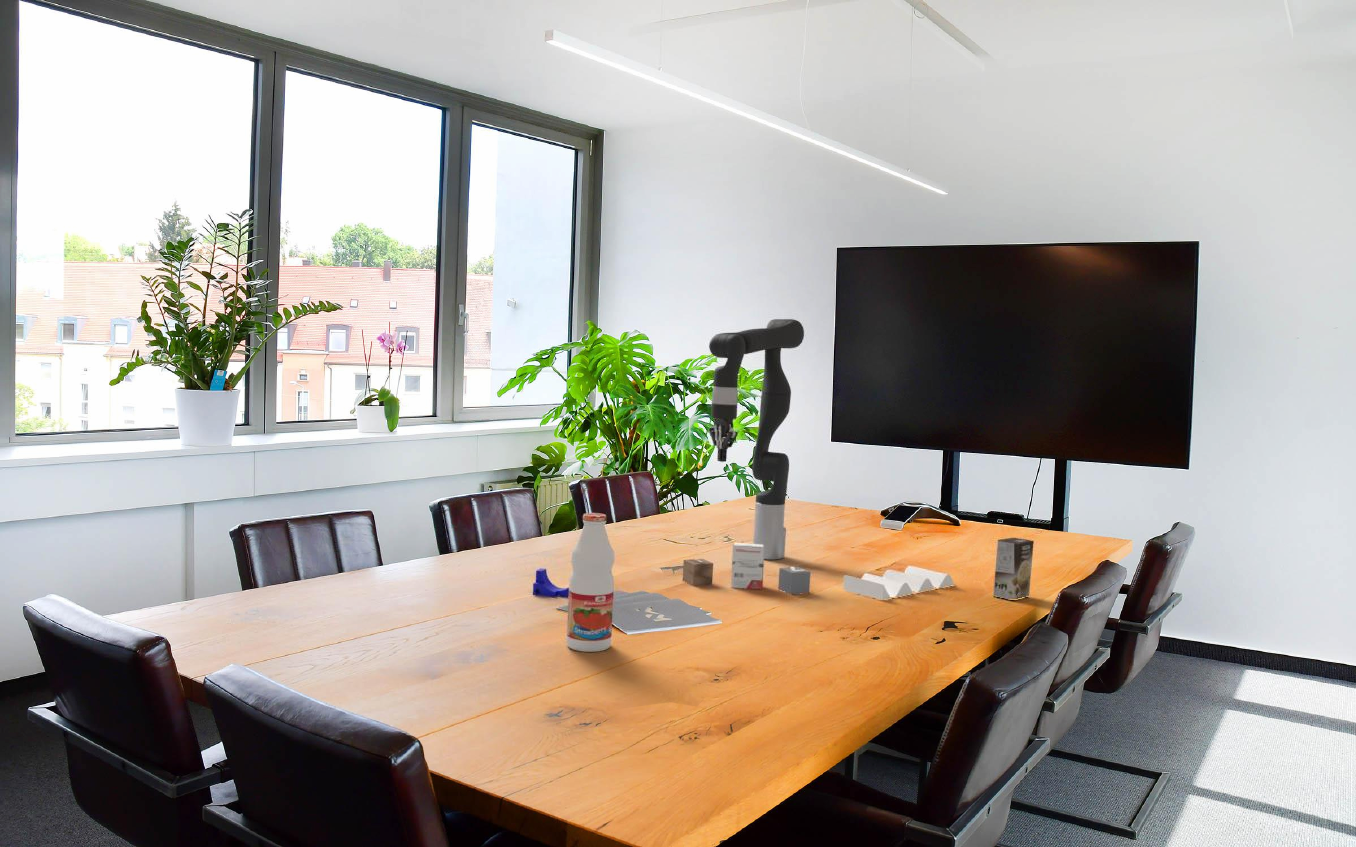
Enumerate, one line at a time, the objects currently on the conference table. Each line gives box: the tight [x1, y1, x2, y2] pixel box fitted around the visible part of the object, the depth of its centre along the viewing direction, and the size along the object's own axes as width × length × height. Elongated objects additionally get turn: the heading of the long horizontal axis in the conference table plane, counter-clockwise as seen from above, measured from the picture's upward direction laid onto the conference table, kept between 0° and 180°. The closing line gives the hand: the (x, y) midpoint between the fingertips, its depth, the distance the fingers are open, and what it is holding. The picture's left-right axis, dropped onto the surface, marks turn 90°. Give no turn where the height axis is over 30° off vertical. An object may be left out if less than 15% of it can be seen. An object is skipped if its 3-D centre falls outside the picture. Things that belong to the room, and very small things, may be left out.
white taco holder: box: [842, 565, 956, 600], centre depth 278 cm, size 13×35×5 cm, turn 132°
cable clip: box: [532, 567, 569, 598], centre depth 250 cm, size 12×4×6 cm, turn 75°
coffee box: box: [992, 537, 1035, 599], centre depth 273 cm, size 9×6×16 cm
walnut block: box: [682, 558, 714, 587], centre depth 271 cm, size 6×6×6 cm
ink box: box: [730, 542, 765, 591], centre depth 269 cm, size 9×5×12 cm, turn 84°
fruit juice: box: [566, 512, 615, 653], centre depth 207 cm, size 9×9×28 cm
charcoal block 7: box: [777, 566, 811, 595], centre depth 267 cm, size 6×6×6 cm
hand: (721, 461), depth 290 cm, fingers closed
